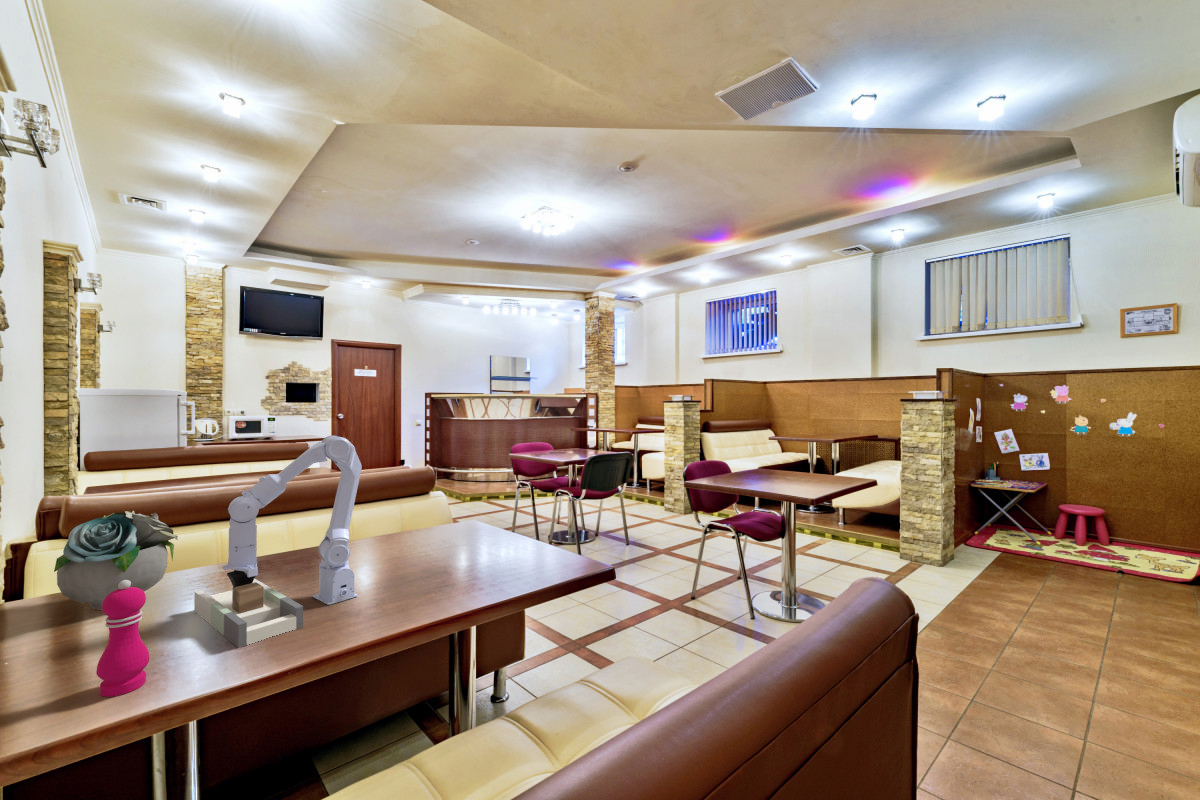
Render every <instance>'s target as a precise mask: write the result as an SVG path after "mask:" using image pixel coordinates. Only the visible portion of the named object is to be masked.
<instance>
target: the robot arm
mask: <svg viewBox="0 0 1200 800" xmlns="http://www.w3.org/2000/svg"><path fill="white" fill-rule="evenodd" d="M359 458H360V457H359V456H358V454H357V452H356V448H355V446H354V445H353V443H352V442H351V441H349V439H347V438H346V437H344V436H343V437H341V436H337V435H328V436H326V437H324V438H323V439H322V440H321V441H318V442H317V443H315V444H313V445H311V447H309V448H308V449H307V450H305V451H304V452H302V454H301V455H299V456H298V457H297V458H296V459H294V460H293V461H292V462H291V463H289V464H288V465H287V466H285V467H284V469H282V470H281V471H279V473H276V474H273V473H272V474H271V473H269V474H267V475H266V476H264V475H262V476H261V477H260V478H258V480H259V481H258V482H257V483H255V484H254V485H253V486H251V487H250V488H249V489H248V490H243V491H242V492H241V495H242V496H238V497H236V498H234V499H233V500H232V501H231V502H230V503H229V505H228V508H227V511H228V514H229V515H230V519H229V524H228V525H229V527H228V558H227V564H224V565H222V570H225V571H226V570H227V571H228V570H231V571H228V572H226V575H227V577H228V578H229V580H230V582H231V586H232V589H233V588H234V587H238V586H242V585H246V584H250V583H253V580H254V579H256V577H257V576H258V575H259V568H258V560H257V547H258V546H257V545H258V543H257V542H258V541H257V539H258V536H257V535H258V533H257V532H258V530H257V528H258V526H257V522H256V519H257V518H256V517H257V516H258V515H259V510H260V509H263V508H265V507H266V506H268V504H270V503H271V502H273V501H274V500H275V499H277V498H278V497H279V496H280V495H282V494H283V493H284V492H285V491H286V488H287V483H288V482H290V481H292V480H293V479H294V478H295V477H297V476H299V475H300V474H301V473H303V472H304V471H305V470H306V469H308V468H309V467H311V466H312V465H314V464H317V463H323V462H324V463H325V462H328V459H329V460H331V461H333V462H334V464H335V466H337V467H338V469H339V470H340V475H339V480H338V484H337V489H336V493H335V499H334V504H333V508H332V512H331V518H330V522H329V526H328V528H327V530H326V532H325V533H324V534H325V535H324V538H323V539H322V541H321V542H320V544H319V545H318V553H319V555H320V557H322V559H321V561H320V562H319V566H318V570H319V571H318V580H319V581H318V589H319V590H318V593H316V594H312V597H313V598H314V599H316V600H318V601H319V602H322V603H323V604H326V605H327V606H328V605H330V606H331V605H332V604H333V605H334V604H336V603H340V602H343V601H347V600H351V599H353V598H356V597H358V596H359V595H358V593H356V592H355V573H354V571H353V569H352V568H350V560H349V559H350V557H351V549H350V546H349V545H350V532H349V529H350V525H351V521H352V515H353V511H354V507H355V502H356V496H357V492H358V487H359V483H360V479H361V474H362V467H363V466H362V463H361V460H360V459H359Z"/></svg>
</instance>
